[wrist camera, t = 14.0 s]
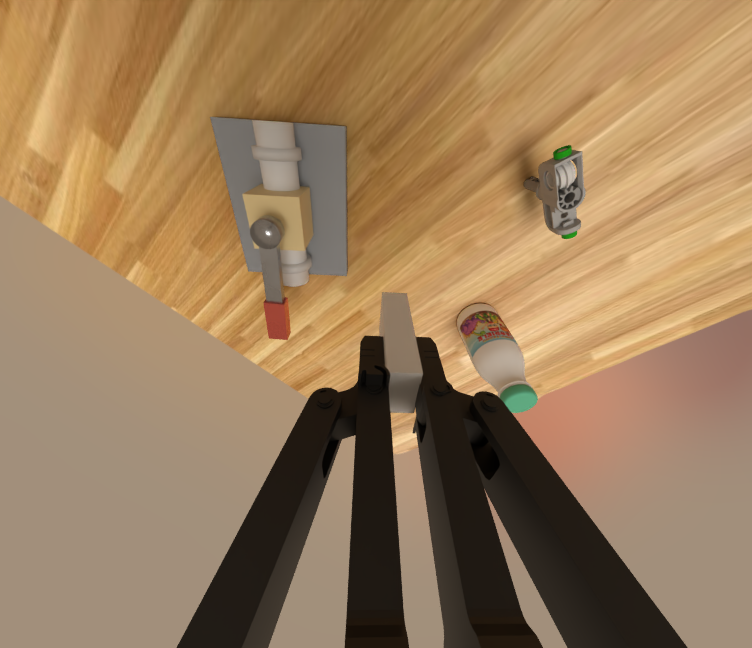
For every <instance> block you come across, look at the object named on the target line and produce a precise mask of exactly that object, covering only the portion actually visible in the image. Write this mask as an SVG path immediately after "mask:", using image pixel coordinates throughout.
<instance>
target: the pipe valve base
mask: <svg viewBox="0 0 752 648" xmlns="http://www.w3.org/2000/svg"><path fill="white" fill-rule="evenodd" d="M210 118H211V122H212V126H213V130H214V134H215V138H216V143H217V147H218V151H219V155H220V159H221V163H222V167H223V171H224V175H225V179H226V183H227V187H228V191H229V195H230V199H231V203H232V207H233V211H234V215H235V219H236V223H237V227H238V231H239V235H240V239H241V243H242V247H243V251H244V255H245V259H246V263H247V267H248V271H252V272H262V265H261V258H260V251H259V246H257V245H256V244H255V243H254V242H253V240H252V238H251V236H250V227H251V225H252V224H253V223H254V222H255V221H256V220H258V219H259V218H260V217H262V216H264V215H271V216H274V217H276V218H277V219H278V220H279V221H280V222H281V223H282V224H283V226H284V230H285V235H284V238H283V239H282V240H281V242H280V253H281V264H282V275H283V285H285V286H290V287H296V286H301V285H304V284H306V283H307V282H308V281H309V274H317V275H339V276H347V271H348V260H347V126H336V125H322V124H308V123H293V122H279V121H265V120H251V119H236V118H222V117H210Z"/></svg>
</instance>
